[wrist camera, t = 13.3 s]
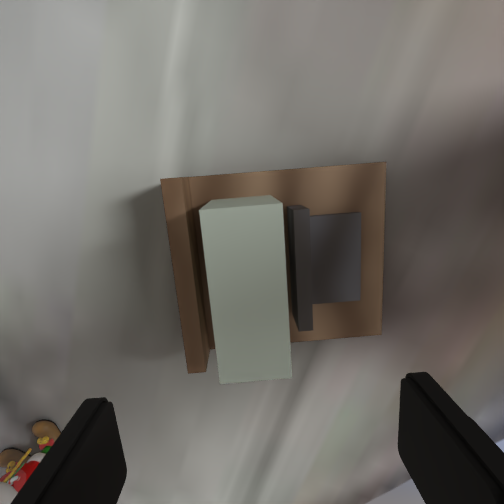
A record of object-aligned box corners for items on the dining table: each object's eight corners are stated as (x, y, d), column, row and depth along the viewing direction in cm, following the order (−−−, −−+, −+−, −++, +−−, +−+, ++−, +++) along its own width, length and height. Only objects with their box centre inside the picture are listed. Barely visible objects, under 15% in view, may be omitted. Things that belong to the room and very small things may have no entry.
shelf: (378, 162, 27) (408, 159, 23) (374, 327, 31) (399, 355, 26) (174, 178, 27) (160, 179, 22) (196, 342, 31) (188, 373, 26)
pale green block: (270, 194, 26) (282, 203, 19) (278, 324, 29) (292, 377, 21) (211, 199, 26) (198, 210, 18) (225, 328, 29) (219, 384, 21)
